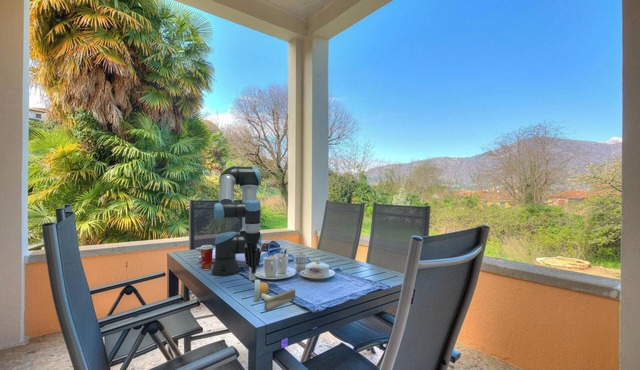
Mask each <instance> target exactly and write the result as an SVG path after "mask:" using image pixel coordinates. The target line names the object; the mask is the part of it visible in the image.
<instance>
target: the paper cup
mask: <svg viewBox="0 0 640 370" xmlns="http://www.w3.org/2000/svg"><path fill="white" fill-rule="evenodd" d="M199 249H200V261H201V262H200V263H201V270H203V269H208V270H212V268H213V252H214V246H213V245H212V244H203V245H201V246H200V247H199Z"/></svg>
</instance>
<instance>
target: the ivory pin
mask: <svg viewBox="0 0 640 370" xmlns="http://www.w3.org/2000/svg"><path fill="white" fill-rule="evenodd" d="M270 297H272V296H271V295H268V293H267V294H264V293H262V294H261V296H260V300H264V301H265V299H268V298H270Z"/></svg>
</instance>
